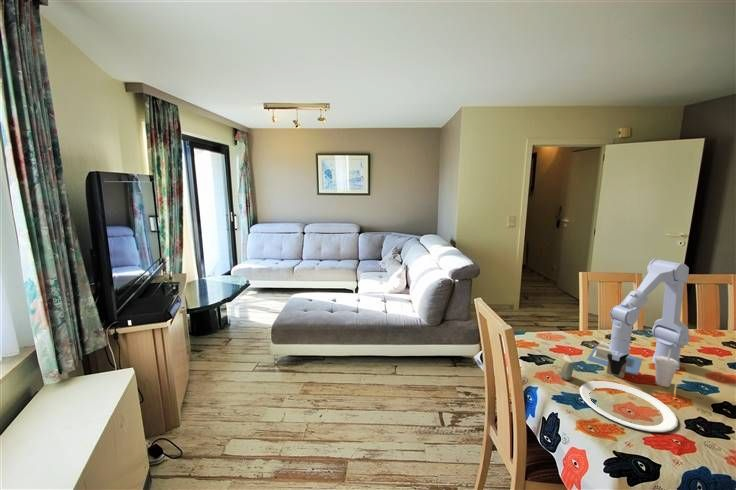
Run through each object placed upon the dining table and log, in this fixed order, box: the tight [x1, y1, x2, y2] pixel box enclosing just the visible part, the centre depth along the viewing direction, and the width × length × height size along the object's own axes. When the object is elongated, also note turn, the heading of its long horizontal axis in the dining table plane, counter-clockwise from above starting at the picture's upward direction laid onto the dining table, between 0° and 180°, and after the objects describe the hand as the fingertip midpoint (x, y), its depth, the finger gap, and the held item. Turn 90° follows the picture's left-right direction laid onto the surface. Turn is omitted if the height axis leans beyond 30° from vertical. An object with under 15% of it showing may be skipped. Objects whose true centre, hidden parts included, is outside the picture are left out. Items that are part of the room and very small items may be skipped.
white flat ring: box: [579, 380, 679, 433], centre depth 103 cm, size 25×25×1 cm
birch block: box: [596, 341, 612, 360], centre depth 132 cm, size 8×8×4 cm
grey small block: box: [557, 354, 575, 382], centre depth 118 cm, size 6×5×8 cm
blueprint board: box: [586, 345, 643, 376], centre depth 130 cm, size 17×16×1 cm
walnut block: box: [606, 360, 627, 379], centre depth 120 cm, size 5×5×6 cm
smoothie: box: [653, 349, 680, 388], centre depth 113 cm, size 6×6×14 cm
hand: (616, 370), depth 120 cm, fingers closed on walnut block, 5 cm apart
